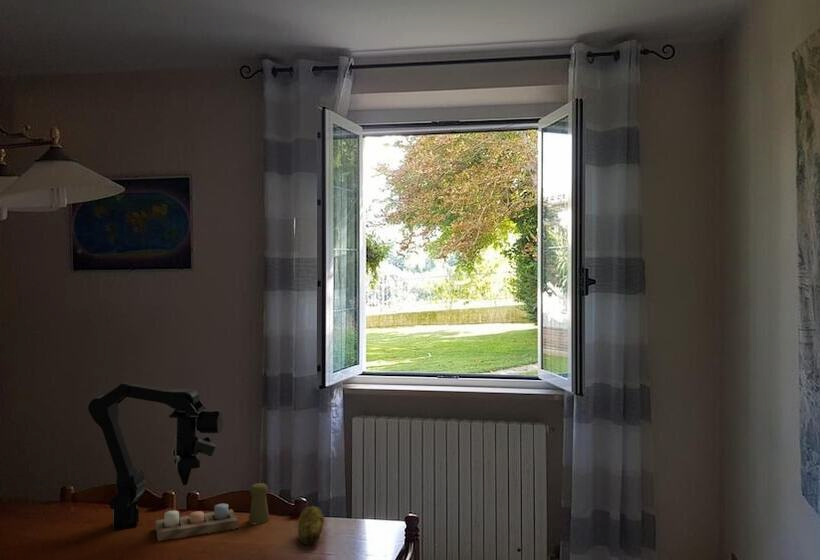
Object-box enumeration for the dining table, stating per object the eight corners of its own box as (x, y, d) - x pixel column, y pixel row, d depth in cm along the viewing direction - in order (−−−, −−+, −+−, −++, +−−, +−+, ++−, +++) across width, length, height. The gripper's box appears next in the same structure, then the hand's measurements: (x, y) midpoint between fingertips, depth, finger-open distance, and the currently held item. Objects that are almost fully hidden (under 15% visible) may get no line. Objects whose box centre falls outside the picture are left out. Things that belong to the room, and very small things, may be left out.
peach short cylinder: (190, 530, 189) (190, 517, 189) (188, 526, 193) (188, 512, 193) (204, 528, 191) (204, 514, 191) (203, 523, 195) (203, 510, 195)
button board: (158, 541, 183) (158, 532, 183) (155, 528, 192) (155, 520, 192) (238, 528, 192) (238, 520, 192) (232, 517, 201) (232, 509, 201)
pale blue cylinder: (215, 522, 192) (215, 509, 192) (213, 518, 196) (213, 504, 196) (229, 520, 194) (229, 507, 194) (227, 516, 198) (227, 502, 198)
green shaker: (271, 517, 202) (271, 481, 201) (265, 524, 195) (265, 487, 195) (252, 516, 202) (252, 480, 202) (246, 523, 196) (246, 487, 196)
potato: (287, 546, 179) (287, 517, 179) (304, 529, 192) (304, 501, 192) (316, 549, 178) (316, 519, 178) (331, 531, 190) (331, 503, 190)
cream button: (164, 530, 186) (164, 516, 186) (163, 525, 190) (163, 511, 190) (179, 528, 188) (179, 514, 188) (178, 523, 192) (178, 509, 192)
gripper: (218, 437, 189) (217, 491, 189) (210, 423, 206) (209, 473, 206) (177, 440, 185) (176, 496, 185) (172, 426, 202) (171, 477, 202)
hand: (184, 484), depth 194 cm, fingers closed
